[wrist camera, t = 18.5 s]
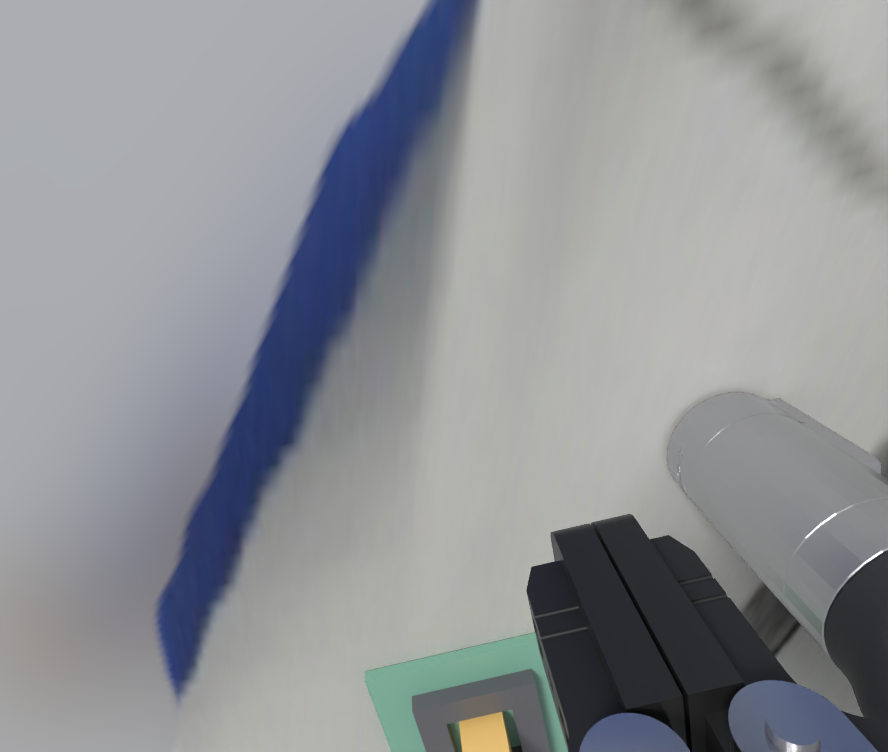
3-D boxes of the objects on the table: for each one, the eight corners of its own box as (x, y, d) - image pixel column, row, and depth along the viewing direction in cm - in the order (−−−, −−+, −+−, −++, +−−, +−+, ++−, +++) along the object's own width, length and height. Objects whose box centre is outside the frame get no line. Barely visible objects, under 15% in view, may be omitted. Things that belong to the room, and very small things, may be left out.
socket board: (561, 626, 49) (570, 649, 47) (586, 758, 56) (594, 784, 54) (365, 671, 49) (364, 696, 47) (412, 797, 56) (413, 825, 54)
